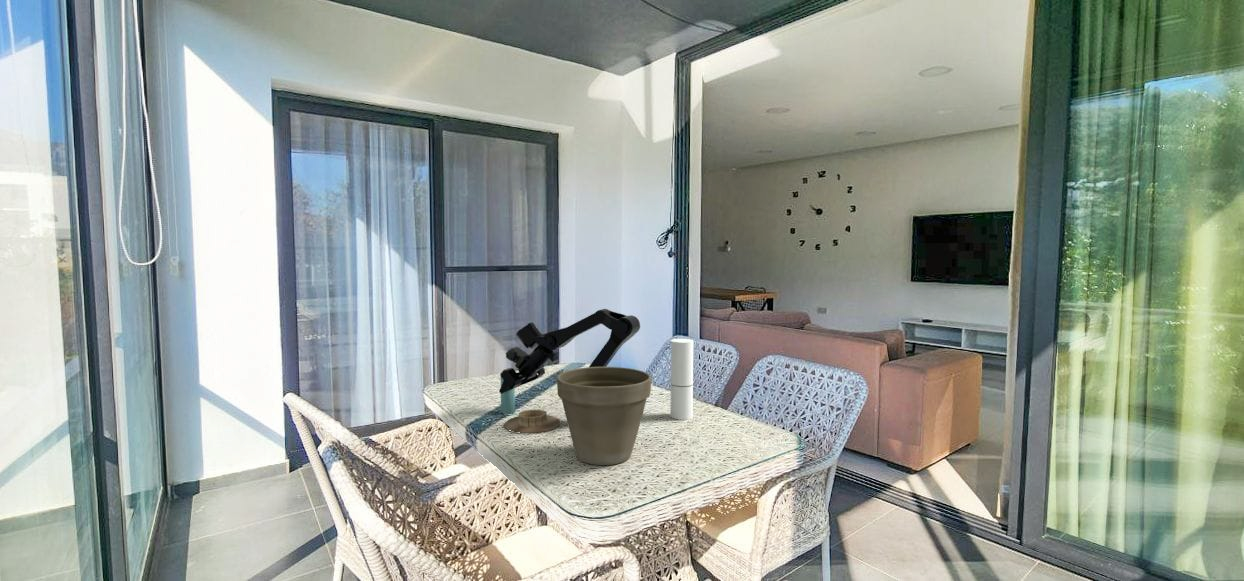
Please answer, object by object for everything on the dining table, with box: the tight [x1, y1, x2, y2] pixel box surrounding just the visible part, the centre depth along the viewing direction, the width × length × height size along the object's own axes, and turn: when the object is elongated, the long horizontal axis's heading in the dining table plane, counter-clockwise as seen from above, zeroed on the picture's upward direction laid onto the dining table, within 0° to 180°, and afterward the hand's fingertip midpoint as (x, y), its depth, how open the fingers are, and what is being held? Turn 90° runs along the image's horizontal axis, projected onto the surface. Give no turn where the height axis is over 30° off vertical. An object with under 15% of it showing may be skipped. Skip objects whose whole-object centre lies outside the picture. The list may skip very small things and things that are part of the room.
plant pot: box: [556, 366, 653, 466], centre depth 150 cm, size 25×25×22 cm
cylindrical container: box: [669, 338, 694, 421], centre depth 182 cm, size 7×7×25 cm
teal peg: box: [499, 375, 516, 414], centre depth 187 cm, size 4×4×13 cm
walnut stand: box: [504, 408, 561, 434], centre depth 175 cm, size 17×17×4 cm
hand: (508, 389), depth 186 cm, fingers open, 9 cm apart
